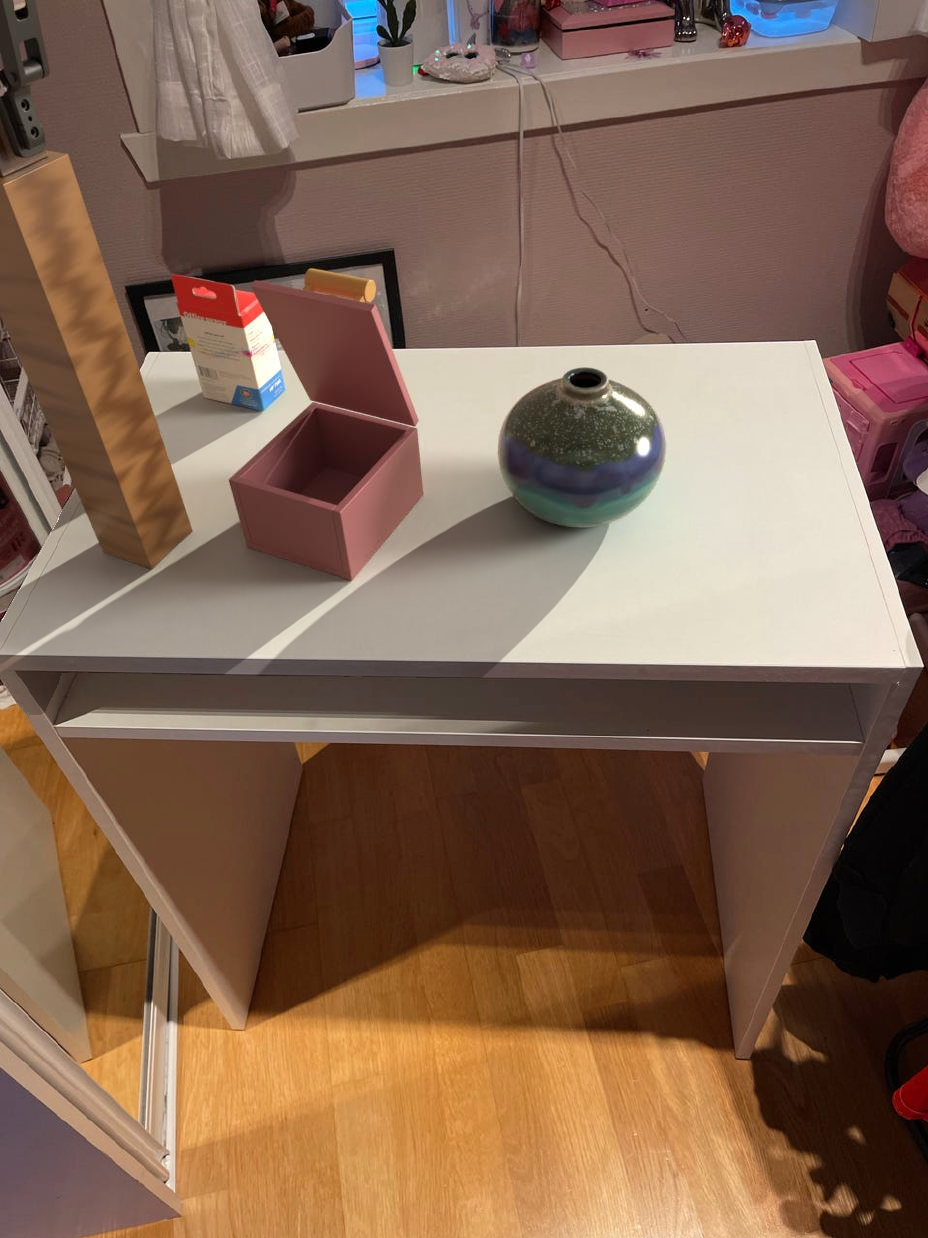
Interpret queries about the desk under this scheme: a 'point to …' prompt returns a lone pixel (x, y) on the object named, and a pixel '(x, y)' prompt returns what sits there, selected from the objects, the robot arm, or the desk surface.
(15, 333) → the pedestal
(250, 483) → the chest
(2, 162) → the block
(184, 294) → the ink box
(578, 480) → the vase
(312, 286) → the lid
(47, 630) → the desk surface
